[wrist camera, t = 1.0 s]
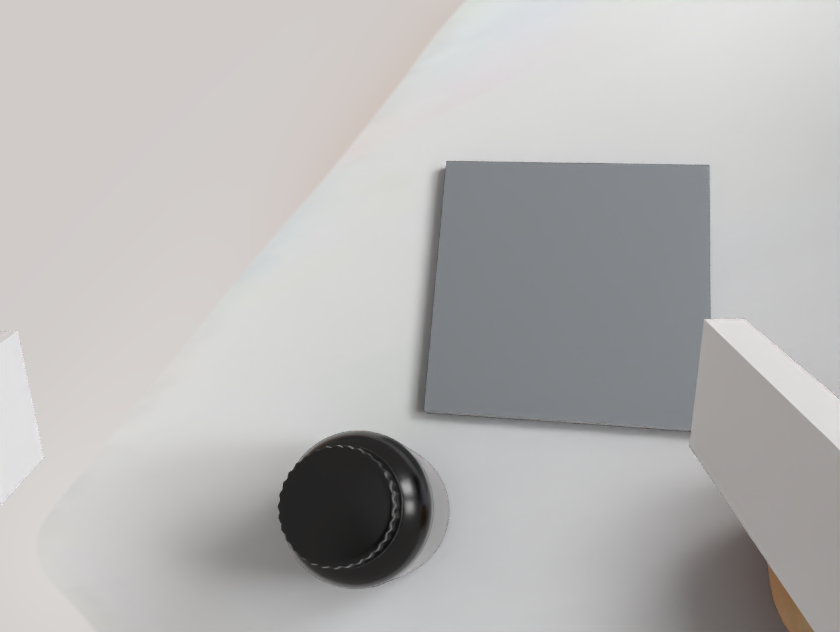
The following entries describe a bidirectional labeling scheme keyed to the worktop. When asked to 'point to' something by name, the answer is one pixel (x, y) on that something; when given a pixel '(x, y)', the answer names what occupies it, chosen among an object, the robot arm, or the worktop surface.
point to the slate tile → (571, 292)
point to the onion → (787, 606)
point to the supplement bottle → (362, 510)
